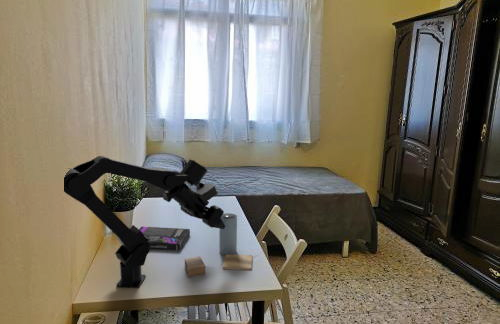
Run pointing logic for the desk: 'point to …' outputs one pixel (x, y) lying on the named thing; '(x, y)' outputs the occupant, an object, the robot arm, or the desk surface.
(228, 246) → the tumbler
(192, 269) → the walnut block
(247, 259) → the coaster
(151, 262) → the desk surface
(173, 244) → the box
